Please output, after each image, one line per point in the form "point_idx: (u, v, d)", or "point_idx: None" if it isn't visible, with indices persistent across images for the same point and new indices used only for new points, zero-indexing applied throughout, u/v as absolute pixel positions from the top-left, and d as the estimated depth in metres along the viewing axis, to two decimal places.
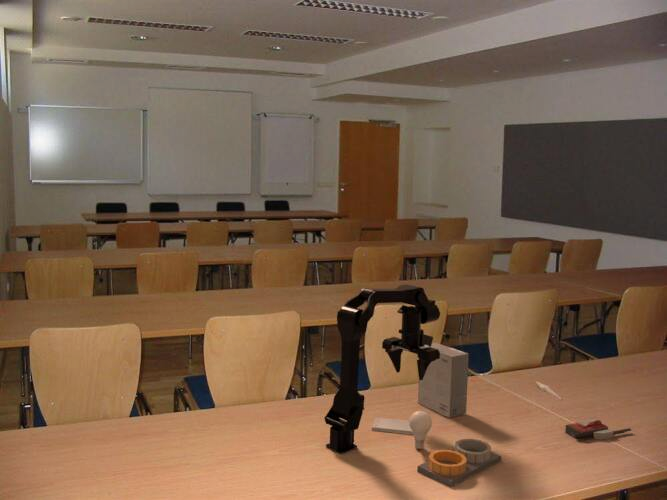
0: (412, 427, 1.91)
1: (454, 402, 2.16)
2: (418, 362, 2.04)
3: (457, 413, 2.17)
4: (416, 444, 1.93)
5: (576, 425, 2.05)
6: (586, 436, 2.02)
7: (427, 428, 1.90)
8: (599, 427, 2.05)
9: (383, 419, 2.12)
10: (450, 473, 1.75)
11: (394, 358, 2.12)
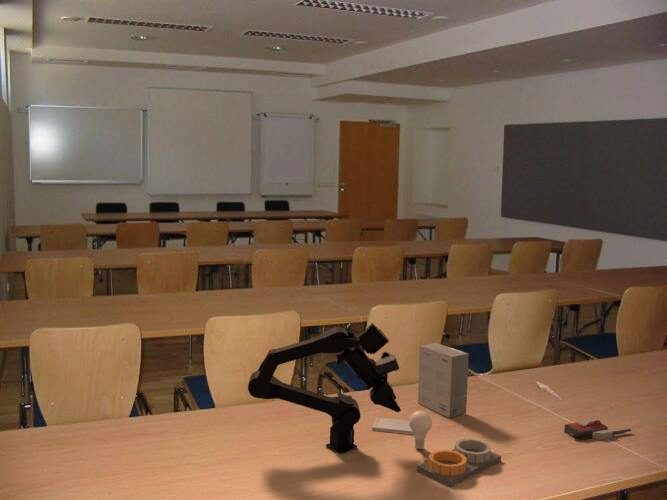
0: (412, 427, 1.91)
1: (454, 402, 2.16)
2: None
3: (457, 413, 2.17)
4: (416, 444, 1.93)
5: (575, 425, 2.06)
6: (585, 436, 2.02)
7: (427, 428, 1.90)
8: (598, 427, 2.05)
9: (383, 419, 2.12)
10: (450, 473, 1.75)
11: None
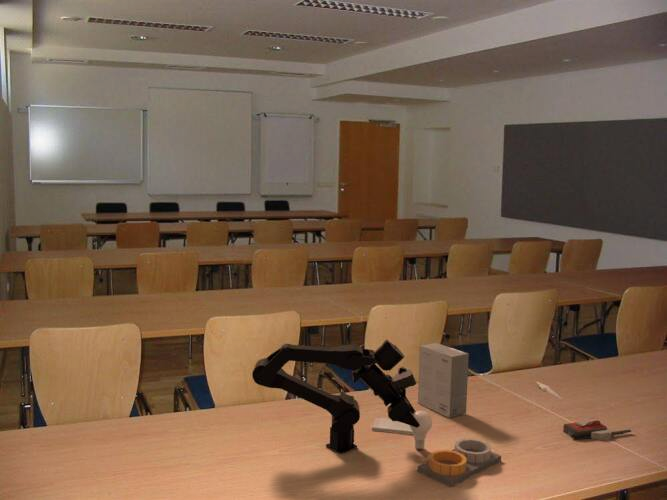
0: (412, 427, 1.91)
1: (454, 402, 2.16)
2: None
3: (457, 413, 2.17)
4: (416, 444, 1.93)
5: (574, 424, 2.06)
6: (583, 436, 2.02)
7: (427, 428, 1.90)
8: (597, 427, 2.05)
9: (383, 419, 2.12)
10: (450, 473, 1.75)
11: None
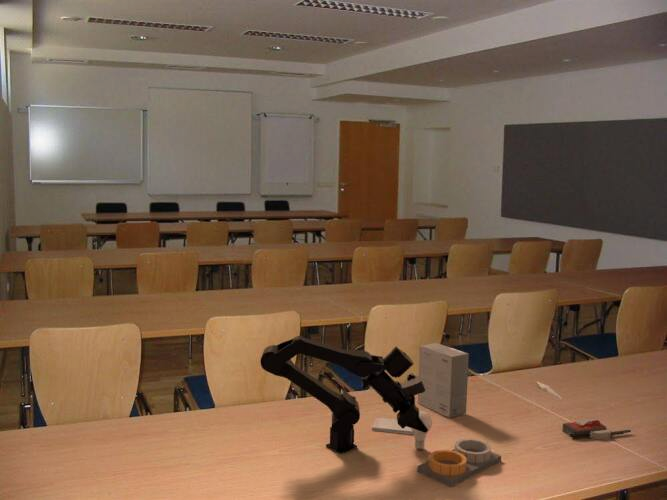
0: None
1: (454, 402, 2.16)
2: None
3: (457, 413, 2.17)
4: (416, 444, 1.93)
5: (573, 424, 2.06)
6: (582, 435, 2.02)
7: (427, 428, 1.90)
8: (597, 427, 2.05)
9: (383, 419, 2.12)
10: (450, 473, 1.75)
11: None
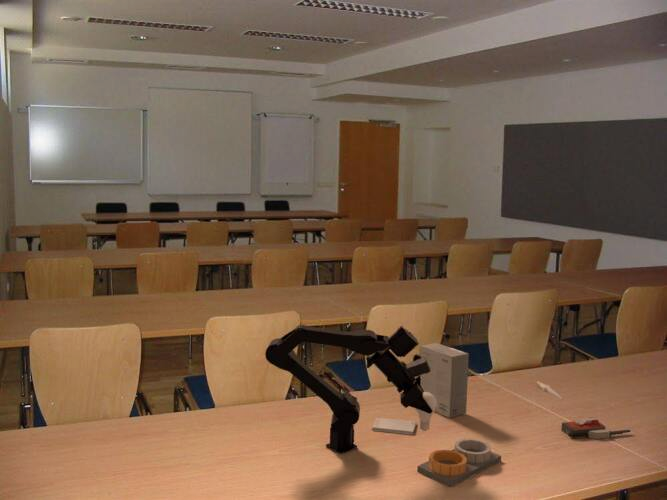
0: None
1: (454, 402, 2.16)
2: None
3: (457, 413, 2.17)
4: (421, 425, 1.91)
5: (572, 423, 2.07)
6: (580, 434, 2.03)
7: (432, 409, 1.88)
8: (596, 426, 2.05)
9: (383, 419, 2.12)
10: (450, 473, 1.75)
11: None
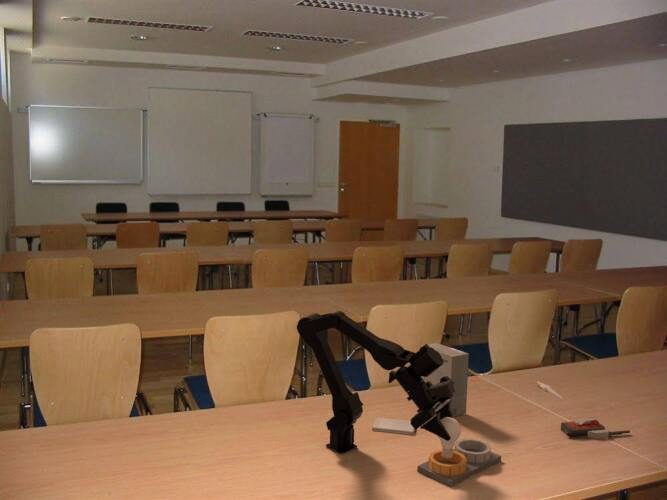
0: None
1: (454, 402, 2.16)
2: None
3: (457, 413, 2.17)
4: (442, 452, 1.79)
5: (571, 423, 2.07)
6: (579, 434, 2.03)
7: (451, 437, 1.75)
8: (595, 427, 2.05)
9: (384, 419, 2.12)
10: (450, 473, 1.75)
11: (441, 418, 1.83)
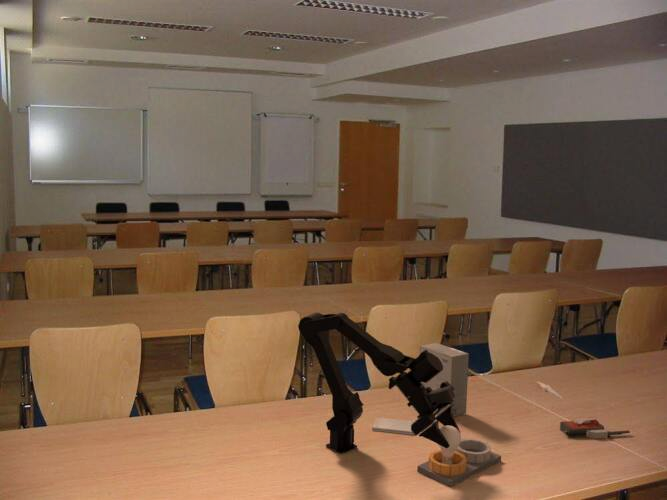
0: None
1: (454, 402, 2.16)
2: None
3: (457, 413, 2.17)
4: (442, 460, 1.79)
5: (571, 422, 2.07)
6: (578, 434, 2.03)
7: (451, 445, 1.76)
8: (594, 426, 2.05)
9: (384, 419, 2.12)
10: (450, 473, 1.75)
11: (443, 422, 1.84)
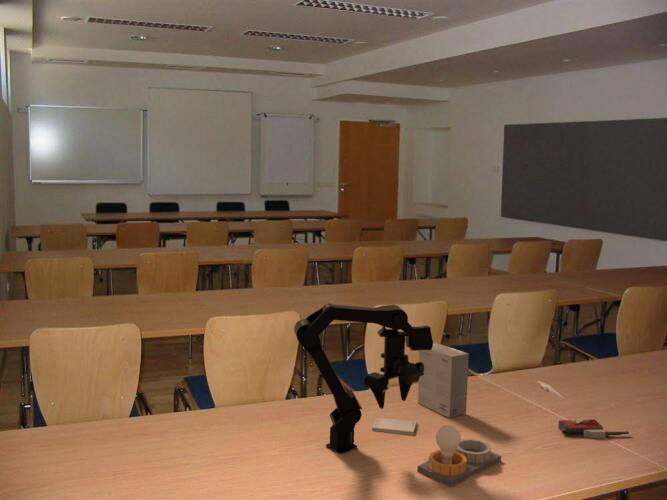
0: (436, 441, 1.78)
1: (454, 402, 2.16)
2: None
3: (457, 413, 2.17)
4: (442, 460, 1.79)
5: (569, 421, 2.08)
6: (575, 432, 2.04)
7: (451, 445, 1.76)
8: (592, 426, 2.05)
9: (384, 419, 2.12)
10: (450, 473, 1.75)
11: (400, 383, 1.98)
